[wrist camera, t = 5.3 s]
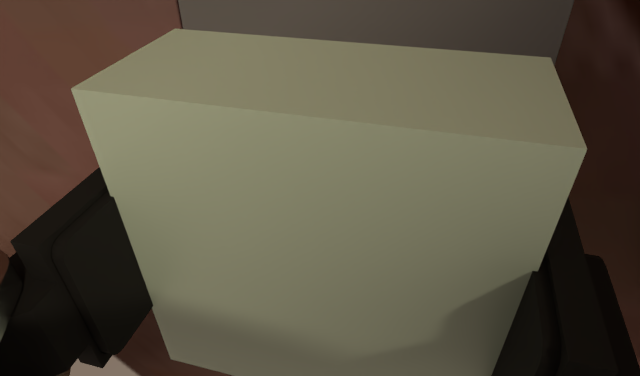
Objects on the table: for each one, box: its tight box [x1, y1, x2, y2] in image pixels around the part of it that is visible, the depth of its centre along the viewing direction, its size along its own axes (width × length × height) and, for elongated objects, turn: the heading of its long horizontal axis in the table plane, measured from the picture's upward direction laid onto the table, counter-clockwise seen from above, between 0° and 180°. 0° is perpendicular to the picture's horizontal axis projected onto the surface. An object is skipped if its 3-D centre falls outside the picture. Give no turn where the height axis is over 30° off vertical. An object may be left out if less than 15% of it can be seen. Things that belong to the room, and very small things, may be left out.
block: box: [71, 29, 587, 376], centre depth 9 cm, size 7×7×3 cm
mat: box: [178, 0, 574, 65], centre depth 16 cm, size 12×12×1 cm
